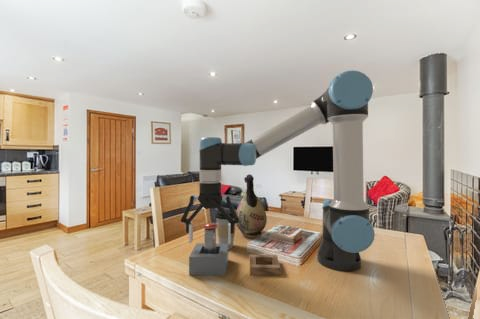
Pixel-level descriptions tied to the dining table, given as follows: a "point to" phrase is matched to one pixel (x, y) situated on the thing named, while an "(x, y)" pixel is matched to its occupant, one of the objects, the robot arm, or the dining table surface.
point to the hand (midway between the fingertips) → (210, 242)
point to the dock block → (208, 261)
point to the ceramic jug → (251, 212)
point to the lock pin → (210, 238)
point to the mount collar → (264, 269)
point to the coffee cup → (224, 229)
